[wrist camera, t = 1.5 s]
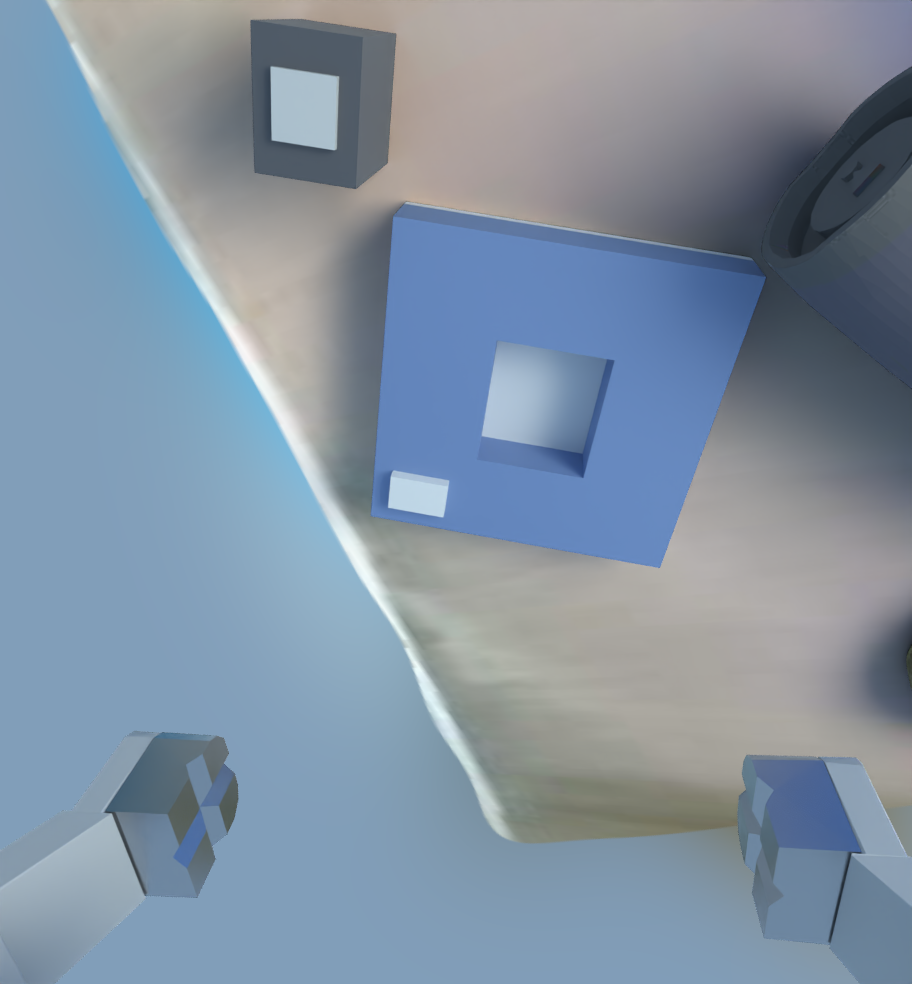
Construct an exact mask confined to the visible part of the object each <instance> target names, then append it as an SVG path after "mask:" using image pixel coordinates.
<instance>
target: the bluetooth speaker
mask: <svg viewBox="0 0 912 984" xmlns="http://www.w3.org/2000/svg"><path fill="white" fill-rule="evenodd" d="M762 256H763V258H764V260H765V261H766V262H767V263H768V264H769V265H770V266H771V267H772V268H773V269H774V270H775V271H776V273H777V274H778V275H779V276H780V277H781V278H782V279H783V280H784V281H785V282H786V283H787V284H788V285H789V286H790V287H791V288H792V289H793V290H794V291H795V292H796V293H797V294H799V295H800V296H801V297H802V298H803V299H804V300H805V301H806V302H807V303H808V304H809V305H810V306H811V307H812V308H814V309H815V310H816V311H817V312H818V313H820V314H821V315H822V316H823V317H824V318H826V319H827V320H828V321H829V322H830V323H832V324H833V325H834V326H835V327H836V328H837V329H839V330H840V331H841V332H842V333H843V334H845V335H846V336H847V337H848V338H849V339H851V340H852V341H853V342H854V343H855V344H857V345H858V346H859V347H860V348H861V349H863V350H864V351H865V352H866V353H868V354H869V355H870V356H871V357H872V358H874V359H875V360H876V361H877V362H878V363H880V364H881V365H882V366H883V367H885V368H886V369H887V370H889V371H890V372H891V373H892V374H894V375H895V376H896V377H897V378H899V379H900V380H901V381H903V382H904V383H905V384H906V385H908V386H909V387H910V388H911V389H912V67H910V68H908V69H907V70H905V71H904V72H902V73H900V74H899V75H897V76H896V77H894V78H893V79H891V80H890V81H889V82H887V83H886V84H885V85H883V86H882V87H881V88H879V89H878V90H877V91H876V92H875V93H873V94H872V95H871V96H870V97H868V98H867V99H866V100H865V101H864V102H863V103H862V104H861V105H860V106H859V107H858V108H857V109H856V110H855V111H854V112H853V113H852V114H851V115H850V116H849V117H848V119H847V120H846V121H845V122H844V124H843V125H842V126H841V128H840V129H839V130H838V131H837V132H836V134H835V135H834V136H833V137H832V139H831V140H830V141H829V142H828V143H827V145H826V146H825V147H824V148H823V149H822V150H821V152H820V153H819V154H818V155H817V156H816V157H815V159H814V160H813V161H812V162H811V163H810V164H809V165H808V166H807V167H806V168H805V170H804V171H803V172H802V173H801V174H800V175H799V176H798V177H797V178H796V179H795V180H794V181H793V182H792V183H791V185H790V186H789V187H788V189H787V190H786V192H785V193H784V195H783V196H782V197H781V199H780V201H779V202H778V204H777V206H776V208H775V210H774V212H773V213H772V215H771V218H770V220H769V222H768V225H767V227H766V230H765V233H764V237H763V241H762Z"/></svg>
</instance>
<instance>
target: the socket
mask: <svg viewBox="0 0 912 984" xmlns="http://www.w3.org/2000/svg"><path fill="white" fill-rule="evenodd" d="M765 279H766V276H765V275H764V274H763V272H762V271H761V270H760V268H759V267H758V266H757V264H756V263H755V262H754V260H753V259H752V258H751V257H744V256H738V255H732V254H726V253H720V252H714V251H708V250H701V249H695V248H689V247H683V246H677V245H671V244H665V243H658V242H652V241H646V240H640V239H634V238H628V237H622V236H616V235H609V234H603V233H597V232H591V231H585V230H579V229H573V228H566V227H560V226H554V225H548V224H542V223H536V222H530V221H523V220H517V219H511V218H505V217H499V216H493V215H487V214H480V213H474V212H468V211H462V210H456V209H450V208H444V207H438V206H431V205H425V204H419V203H413V202H407V201H406V202H405V203H404V204H403V206H402V207H401V208H400V209H399V210H398V211H397V212H396V214H395V215H394V216H393V226H392V240H391V253H390V266H389V280H388V293H387V306H386V320H385V333H384V347H383V360H382V373H381V387H380V400H379V414H378V427H377V440H376V454H375V467H374V480H373V494H372V507H371V516H373V517H379V518H385V519H390V520H396V521H401V522H407V523H412V524H418V525H424V526H429V527H435V528H440V529H446V530H451V531H457V532H463V533H468V534H474V535H479V536H485V537H490V538H496V539H502V540H507V541H513V542H518V543H524V544H529V545H535V546H541V547H546V548H552V549H557V550H563V551H568V552H574V553H580V554H585V555H591V556H596V557H602V558H607V559H613V560H619V561H624V562H630V563H635V564H641V565H646V566H652V567H658V568H660V566H661V563H662V561H663V558H664V555H665V552H666V550H667V547H668V544H669V541H670V539H671V536H672V533H673V530H674V528H675V525H676V522H677V520H678V517H679V514H680V511H681V509H682V506H683V503H684V500H685V498H686V495H687V492H688V490H689V487H690V484H691V481H692V479H693V476H694V473H695V470H696V468H697V465H698V462H699V460H700V457H701V454H702V451H703V449H704V446H705V443H706V440H707V438H708V435H709V432H710V430H711V427H712V424H713V421H714V419H715V416H716V413H717V410H718V408H719V405H720V402H721V400H722V397H723V394H724V391H725V389H726V386H727V383H728V380H729V378H730V375H731V372H732V370H733V367H734V364H735V361H736V359H737V356H738V353H739V350H740V348H741V345H742V342H743V340H744V337H745V334H746V331H747V329H748V326H749V323H750V320H751V318H752V315H753V312H754V310H755V307H756V304H757V301H758V299H759V296H760V293H761V290H762V288H763V285H764V282H765Z"/></svg>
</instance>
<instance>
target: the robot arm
mask: <svg viewBox="0 0 912 984" xmlns="http://www.w3.org/2000/svg"><path fill="white" fill-rule="evenodd" d="M228 754H229V752H228V749H227V746H226V743H225V740H224V738H222V737H219V736H211V735H196V734H180V733H164V732H162V733H154V732H139V731H134V732H132V733H130V734H129V735H127V736H125V738H124V739H123V740H122V742H121V743H120V744H119V746H118V747H117V748H116V750H115V751H114V753H113V754H112V755H111V757H110V758H109V760H108V761H107V762H106V764H105V765H104V766H103V768H102V769H101V771H100V772H99V773H98V775H97V776H96V778H95V779H94V780H93V782H92V783H91V785H90V786H89V787H88V789H87V790H86V791H85V793H84V794H83V796H82V797H81V798H80V800H79V801H78V802H77V804H76V805H75V807H74V808H73V810H72V811H61V812H60V813H58V814H57V815H55V816H54V817H52V818H50V819H49V820H47V821H46V822H44V823H43V824H41V825H39V826H38V827H36V828H35V829H33V830H32V831H30V832H29V833H27V834H25V835H24V836H22V837H21V838H19V839H18V840H16V841H14V842H13V843H11V844H10V845H8V846H7V847H5V848H3V849H2V850H0V984H55V983H56V982H57V981H58V980H59V979H60V978H61V977H62V976H63V975H64V974H66V973H67V972H68V971H69V970H70V969H71V968H72V967H73V966H74V965H75V964H76V963H77V962H78V961H80V959H82V958H83V957H84V956H85V955H86V954H87V953H88V952H89V951H90V950H91V949H92V948H93V947H94V946H95V945H97V944H98V943H99V942H100V941H101V940H102V939H103V938H104V937H105V936H106V935H107V934H108V933H109V932H111V931H112V930H113V929H114V928H115V927H116V926H117V925H118V924H119V923H120V922H121V921H122V920H123V919H125V918H126V916H128V915H129V914H130V913H131V912H132V911H133V910H134V909H135V908H136V907H137V906H138V905H140V903H142V902H143V901H144V900H145V896H166V897H191V898H192V897H193V898H197V897H198V895H199V893H200V890H201V889H202V886H203V884H204V882H205V880H206V878H207V876H208V874H209V872H210V870H211V868H212V866H213V863H214V861H215V855H214V851H213V847H212V846H213V845H214V844H215V843H217V842H218V841H219V840H220V839H222V838H223V837H224V836H226V835H227V833H228V831H229V829H230V827H231V825H232V822H233V820H234V817H235V813H236V808H237V803H238V784H237V780H236V776H235V773H234V772H233V771H231V770H230V769H229V768H228V767H227V766H226V765H225V764H224V762H225V760H226V758H227V756H228ZM742 776H743V780H744V784H745V787H746V790H745V791H744V792H743V793H742V794H741V795H740V796H739V802H738V833H739V839H740V845H741V850H742V855H743V859H744V863H745V865H746V866H747V867H748V868H750V870H751V871H752V872H753V873H754V874H755V875H754V883H753V890H752V895H753V898H754V902H755V906H756V910H757V914H758V917H759V921H760V925H761V929H762V933H763V936H764V938H766V939H776V940H787V941H796V942H807V943H816V944H827V945H830V949H831V950H832V952H834V954H835V955H836V956H837V958H838V959H839V960H840V961H841V962H842V963H843V965H844V966H845V967H846V968H847V969H848V970H849V972H850V973H851V974H852V975H853V976H854V977H855V979H856V980H857V981H858V982H859V983H860V984H912V857H909V856H907V854H906V852H905V850H904V848H903V846H902V844H901V842H900V840H899V838H898V836H897V834H896V832H895V830H894V828H893V826H892V824H891V822H890V819H889V818H888V815H887V813H886V811H885V809H884V807H883V805H882V803H881V801H880V799H879V797H878V795H877V793H876V791H875V789H874V787H873V785H872V783H871V781H870V778H869V776H868V774H867V772H866V770H865V768H864V766H863V764H862V763H861V762H860V761H859V760H858V759H857V758H851V757H818V758H817V757H814V756H777V755H746V757H745V759H744V762H743V769H742Z"/></svg>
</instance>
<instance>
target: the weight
mask: <svg viewBox="0 0 912 984" xmlns="http://www.w3.org/2000/svg"><path fill="white" fill-rule="evenodd" d="M906 663H907V670H908V676H909V681H910V686H911V689H912V645H911V647H910V649H909V651H908V653H907V658H906Z"/></svg>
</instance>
